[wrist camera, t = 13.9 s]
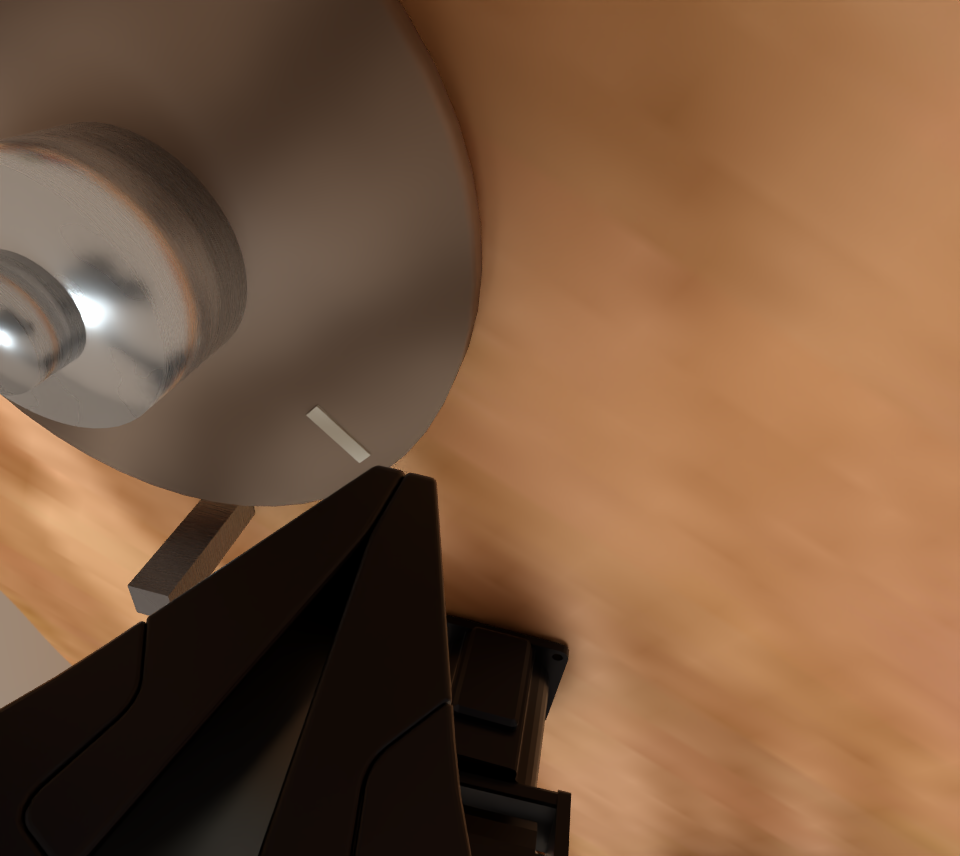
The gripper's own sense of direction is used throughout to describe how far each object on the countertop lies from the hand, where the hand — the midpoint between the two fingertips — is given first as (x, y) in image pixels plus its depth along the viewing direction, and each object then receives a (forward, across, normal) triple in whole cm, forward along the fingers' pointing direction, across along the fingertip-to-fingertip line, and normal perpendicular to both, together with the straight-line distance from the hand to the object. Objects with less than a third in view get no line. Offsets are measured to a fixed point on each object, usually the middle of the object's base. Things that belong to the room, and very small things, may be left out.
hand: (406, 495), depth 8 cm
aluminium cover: (+9, +11, +2) cm, 15 cm away
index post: (+12, +11, +14) cm, 22 cm away
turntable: (+11, +11, +2) cm, 16 cm away
